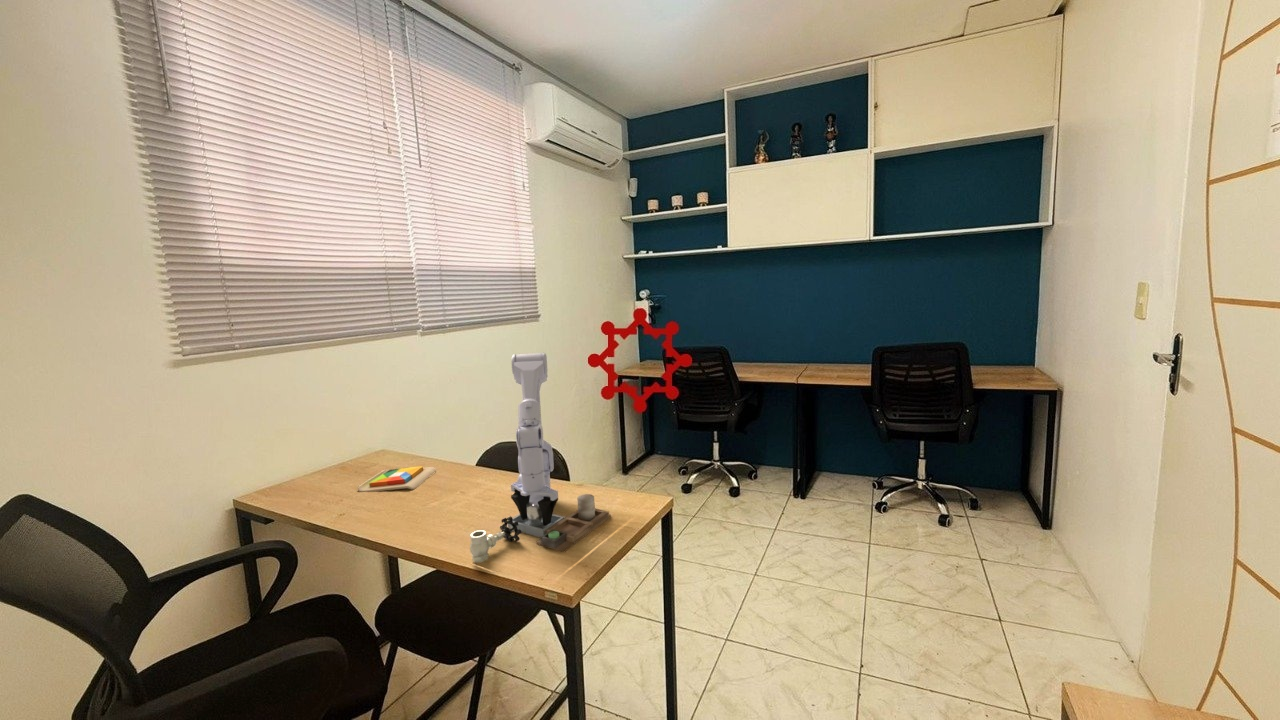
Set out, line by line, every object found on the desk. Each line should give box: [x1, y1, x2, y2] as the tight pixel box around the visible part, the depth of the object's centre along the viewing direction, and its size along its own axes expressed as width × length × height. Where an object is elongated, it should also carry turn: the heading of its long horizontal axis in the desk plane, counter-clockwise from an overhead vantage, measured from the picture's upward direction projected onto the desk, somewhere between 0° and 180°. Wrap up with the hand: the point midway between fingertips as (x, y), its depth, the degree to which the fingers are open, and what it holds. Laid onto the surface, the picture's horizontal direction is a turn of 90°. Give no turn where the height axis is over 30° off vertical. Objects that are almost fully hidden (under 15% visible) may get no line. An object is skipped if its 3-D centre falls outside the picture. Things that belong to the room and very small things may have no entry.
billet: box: [526, 501, 545, 529], centre depth 126 cm, size 4×4×6 cm
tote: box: [507, 513, 565, 539], centre depth 126 cm, size 12×8×2 cm
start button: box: [548, 531, 559, 540], centre depth 116 cm, size 3×3×2 cm
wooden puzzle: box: [357, 465, 437, 493], centre depth 164 cm, size 18×19×4 cm
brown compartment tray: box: [535, 493, 612, 553], centre depth 123 cm, size 8×20×7 cm, turn 150°
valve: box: [469, 515, 522, 564], centre depth 115 cm, size 7×7×12 cm
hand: (536, 521), depth 126 cm, fingers open, 7 cm apart
